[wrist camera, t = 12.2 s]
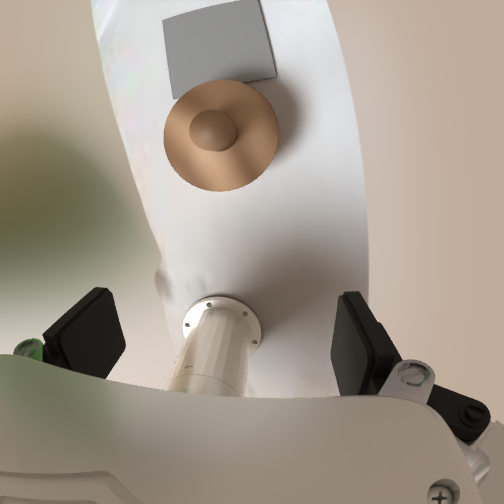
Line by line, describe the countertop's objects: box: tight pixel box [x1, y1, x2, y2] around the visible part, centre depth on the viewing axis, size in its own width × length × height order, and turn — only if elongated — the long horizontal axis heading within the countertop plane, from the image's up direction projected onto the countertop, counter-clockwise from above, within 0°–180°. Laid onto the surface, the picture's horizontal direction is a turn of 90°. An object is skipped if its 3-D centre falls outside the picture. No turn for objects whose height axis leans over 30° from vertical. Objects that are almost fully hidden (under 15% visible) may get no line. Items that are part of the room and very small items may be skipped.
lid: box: [164, 80, 279, 192], centre depth 27 cm, size 13×13×6 cm
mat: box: [162, 0, 277, 99], centre depth 30 cm, size 14×14×1 cm
